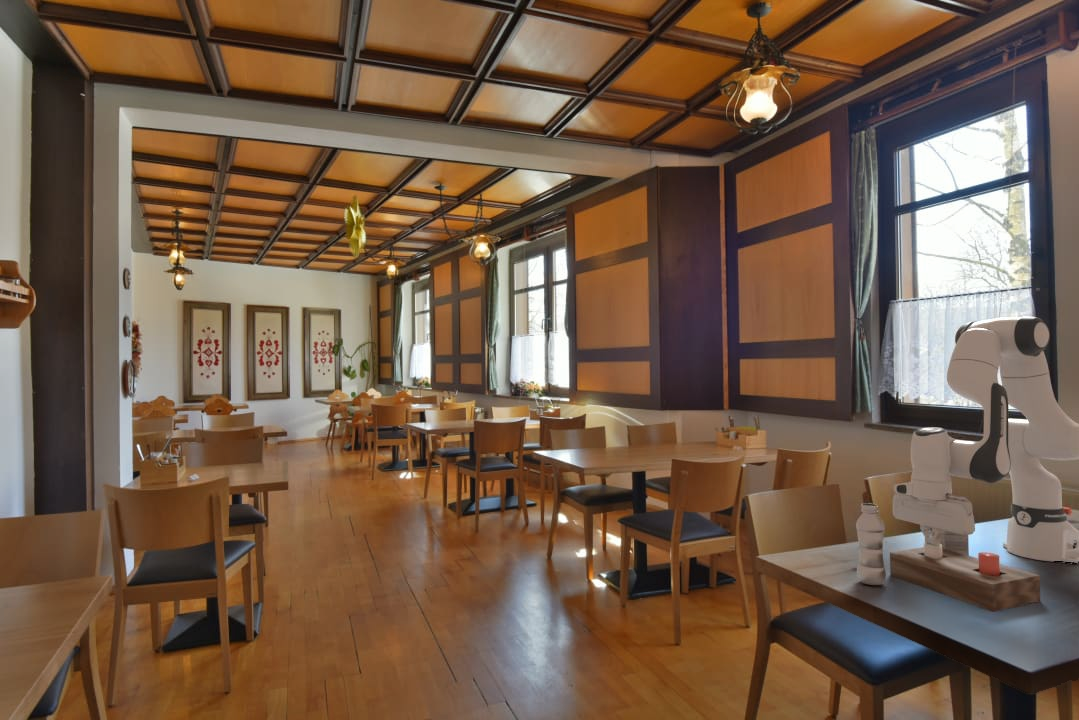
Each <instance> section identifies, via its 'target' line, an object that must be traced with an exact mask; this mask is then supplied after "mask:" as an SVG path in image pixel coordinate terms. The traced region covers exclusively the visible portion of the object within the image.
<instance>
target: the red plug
mask: <svg viewBox="0 0 1079 720" xmlns="http://www.w3.org/2000/svg"><path fill="white" fill-rule="evenodd" d="M977 556H978V557H977V558H978V559H979V572H980V573H983V574H987V575H990V576H998V575H1000V564H1001V563H1000V555H998V554H996V553H992V552H984V551H983V552H982V551H981V552H978V554H977Z"/></svg>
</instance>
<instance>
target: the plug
mask: <svg viewBox="0 0 1079 720" xmlns="http://www.w3.org/2000/svg"><path fill="white" fill-rule="evenodd" d="M923 547H924V556H927V557H930V558H933V559H939V558H942V544H940V545H937V546H936V545H932V544H929V543H925V541H924V542H923Z"/></svg>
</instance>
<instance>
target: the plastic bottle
mask: <svg viewBox="0 0 1079 720" xmlns="http://www.w3.org/2000/svg"><path fill="white" fill-rule="evenodd" d="M878 507H879V506H878V504H876V503H871V502H870V503H867V502H866V503H861V509H860V510H861V512H862V513H861V515H860V516H859V517H858V519H857V520H856V523H855V526H856V527H855V528H856V533H857V540H858V562H857V565H856V576H857V579H858V581H859V582H861V583H862V584H864V585H870V586H881V585H884V583H885V581H886V578H887V574H886V573H887V572H886V568H885V566H884V565H885V564H884V563H885V561H884V555H883V554H884V553H883V550H884V549H883V547H884V546H883V545H884V537H885V528H886V527H885V524H884V522H883V520H882V518H880V516H879V515H878V514H879V508H878Z"/></svg>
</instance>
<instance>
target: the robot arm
mask: <svg viewBox="0 0 1079 720" xmlns="http://www.w3.org/2000/svg"><path fill="white" fill-rule="evenodd" d="M954 335H955V336H954V343H955V345H954V348H953V351H952V353H951V356H950V359H949V363H948V368H947V372H946V382H947V384H948V386H949V388H950V389H951V390H952V391H953V392H954V393H956V394H957V395H958V396H960V397H962V398H964V399H966V400H969V401H971V402H973V403H976V404H978V405H980V406H981V407H982V409H983V436H982V439H980V440H979V441H973V440H964V439H963V440H962V439H955V438H954V437H952V436H950V435H949V434H948V431H947V429H945V428H942V427H936V426H935V427H934V426H929V427H928V426H927V427H921V428H917V429H916V430H914V431H913V433H912V436H911V442H910V443H911V444H910V463H911V467H912V472H911V474H910V481H907V482H904V483H898V484H894V485H893V491H894V494H893V496H892V515H893V516H894V518H895V519H896V520H901V521H905V522H909V523H913V524H916V525H919V529H920V531H921V533H922V535H923V536H924V542H925V543H929V544H932V545H936V546H937V545H940V538H941V537H942V535H943V534H944V531H948V532H952V533H956V534H960V535H968V536H970V535H973V534H974V533H975V531H976V524H975V517H974V514H973V503H972V502H971V501H970V500H969V499H968V498H967V497H966V496H962V495H957V494H952V492H953V491H952V488H953V487H952V477H951V476H955V477H958V478H966V479H971V480H972V479H973V480H976V481H980V482H984V483H989V484H994V483H997V482H999V481H1001V480H1002V479H1004V478H1005V477H1006V476H1007V475H1008V474H1009V476H1010V480H1011V481H1010V482H1011V490H1012V502H1011V503H1010V515H1011V516H1012V517H1011V518H1010V519H1009V520H1008V521H1007V531H1006V532H1007V533H1006V541H1005V542H1003V543H1002V546H1003V547H1004V548H1005V549H1006V550H1007V552H1008V553H1010V554H1013V555H1015V556H1019V557H1023V558H1026V559H1031V560H1037V561H1045V562H1054V561H1067V562H1078V561H1079V530H1078V529H1077V528H1076V527H1074V526H1073V525H1072V524H1071V523H1070V522H1069V521H1068V518H1067V516H1071V515H1072V513H1073V510H1072V508H1071V507H1065V506H1063V503H1062V502H1063V499H1062V497H1063V496H1062V493H1063V492H1062V491H1063V490H1062V482H1061V480H1060V479H1059V477H1058V476H1057V475H1055V474H1054V473H1052V472H1050V471H1048V470H1047V469H1046V468H1045V467H1044V466H1043V465H1042V464H1041V461H1040V459H1045V460H1051V461H1052V460H1054V461H1076V460H1079V423H1077V422H1076V421H1074V420H1073V419H1071V418H1070V417H1069V416H1068V415H1067V414H1066V413H1065V412H1064V411H1063V409H1062V408H1061V406H1060V404H1059V403H1058V401H1057V400H1056V398H1055V394H1054V391H1053V387H1052V386H1053V385H1052V383H1051V382H1052V381H1051V376H1050V370H1049V366H1048V362H1047V358H1046V355H1045V352H1044V351H1045V350H1046V348H1047V347H1048V345H1049V343H1050V338H1051V337H1050V336H1051V333H1050V328H1049V326H1048V325H1047V323H1046V322H1045V321H1044V320H1043V319H1041V318H1040V317H1036V316H1026V315H1024V316H1022V317H1021V316H1020V317H1018V316H1017V317H1015V316H1014V317H1013V316H1010V317H1009V316H1008V317H1005V316H1004V317H996V318H991V319H986V320H979V321H976V320H975V321H970V322H966V323H964V324H962V325H961V326H960V327H959V328H958V329H957V331H956V332H955V334H954ZM998 372H999V373H998ZM998 374H1000V375H999V376H1000V381H1001V384H1000V383H999V380H998ZM1009 406H1010V407H1011V408H1013V409H1015V410H1017V411H1018V412H1020V413H1021V414H1022V415H1023V416H1024V417H1025V418H1011V417H1010V418H1009V415H1010V414H1009ZM931 527H932V528H933V532H936V533H935V535H934V536H932V535H931V533H930V529H931Z"/></svg>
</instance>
